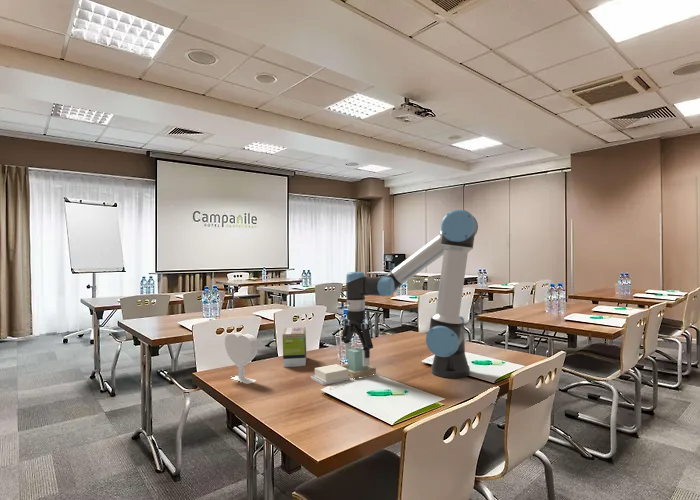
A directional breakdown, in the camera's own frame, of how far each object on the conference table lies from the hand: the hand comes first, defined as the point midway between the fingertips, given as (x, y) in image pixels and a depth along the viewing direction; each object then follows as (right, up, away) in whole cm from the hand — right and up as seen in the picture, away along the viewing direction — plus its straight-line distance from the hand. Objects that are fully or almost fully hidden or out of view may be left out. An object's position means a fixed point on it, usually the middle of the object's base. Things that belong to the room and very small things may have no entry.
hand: (356, 362), depth 164 cm
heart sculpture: (-46, -6, -5) cm, 46 cm away
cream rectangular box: (-11, -5, -7) cm, 13 cm away
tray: (0, -5, 0) cm, 5 cm away
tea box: (-28, -6, +19) cm, 34 cm away
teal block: (0, -4, 0) cm, 4 cm away
